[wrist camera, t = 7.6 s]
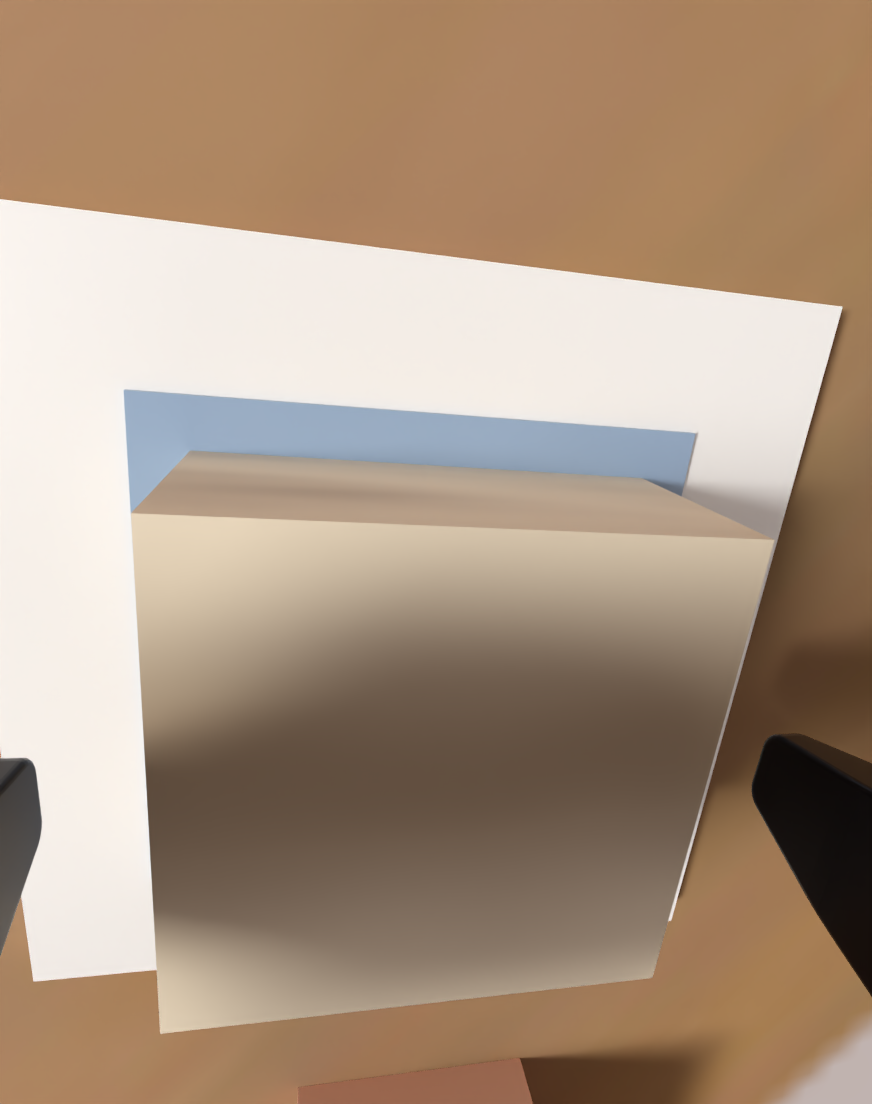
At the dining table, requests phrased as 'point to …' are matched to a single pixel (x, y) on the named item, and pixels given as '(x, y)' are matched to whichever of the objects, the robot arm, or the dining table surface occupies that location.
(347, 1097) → the terracotta cube
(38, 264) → the board
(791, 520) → the dining table surface
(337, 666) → the maple block
